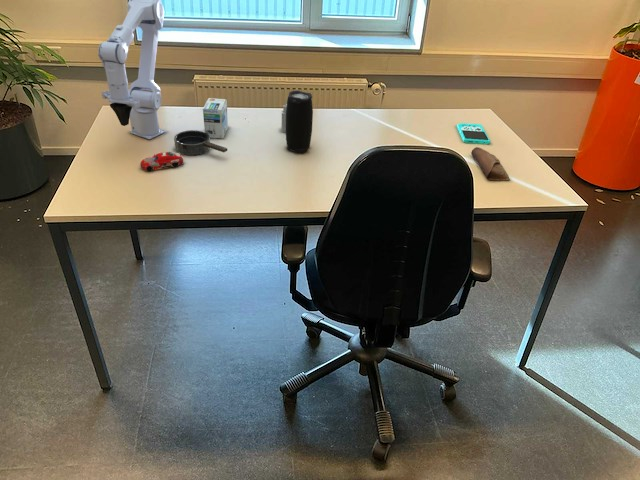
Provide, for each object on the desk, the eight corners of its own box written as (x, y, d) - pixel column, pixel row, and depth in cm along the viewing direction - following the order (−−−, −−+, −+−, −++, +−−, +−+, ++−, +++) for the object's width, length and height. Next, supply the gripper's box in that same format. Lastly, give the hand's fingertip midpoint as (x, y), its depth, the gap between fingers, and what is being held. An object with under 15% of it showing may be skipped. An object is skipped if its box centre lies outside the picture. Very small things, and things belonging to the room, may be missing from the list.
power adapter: (296, 132, 193) (297, 101, 186) (281, 132, 192) (281, 100, 185) (296, 129, 195) (297, 98, 188) (281, 128, 195) (282, 97, 188)
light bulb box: (223, 139, 185) (221, 109, 178) (204, 137, 185) (202, 108, 178) (228, 126, 193) (227, 98, 187) (210, 125, 193) (208, 97, 187)
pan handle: (203, 145, 173) (203, 143, 172) (207, 143, 174) (207, 141, 174) (224, 152, 170) (223, 150, 169) (227, 150, 171) (227, 148, 170)
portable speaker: (315, 147, 184) (318, 92, 172) (302, 157, 177) (304, 101, 165) (293, 141, 186) (295, 87, 175) (280, 151, 180) (281, 95, 168)
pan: (168, 149, 175) (166, 138, 173) (191, 138, 184) (190, 127, 182) (194, 159, 171) (193, 148, 169) (217, 146, 179) (216, 136, 177)
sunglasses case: (512, 179, 171) (506, 163, 167) (491, 188, 172) (485, 173, 169) (493, 154, 186) (487, 139, 182) (474, 163, 187) (468, 148, 183)
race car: (142, 173, 162) (140, 161, 159) (139, 165, 166) (137, 154, 163) (185, 166, 166) (183, 155, 164) (181, 159, 170) (180, 148, 168)
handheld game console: (481, 127, 207) (482, 123, 206) (490, 144, 194) (491, 141, 193) (455, 125, 207) (456, 122, 206) (463, 142, 194) (464, 139, 193)
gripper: (90, 81, 160) (99, 122, 167) (124, 91, 154) (131, 134, 162) (108, 75, 165) (116, 116, 173) (142, 85, 159) (148, 127, 167)
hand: (124, 124), depth 168 cm, fingers closed
